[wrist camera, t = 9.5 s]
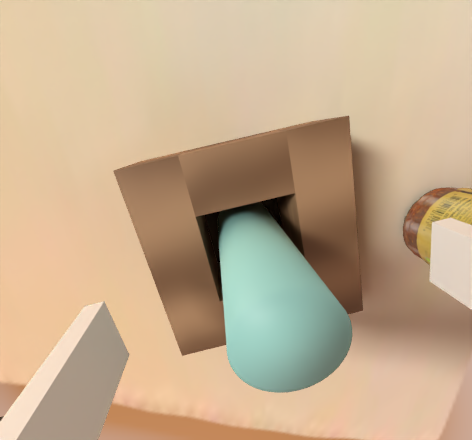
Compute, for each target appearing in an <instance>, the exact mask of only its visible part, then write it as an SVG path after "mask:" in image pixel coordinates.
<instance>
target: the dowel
mask: <svg viewBox="0 0 472 440" xmlns="http://www.w3.org/2000/svg"><path fill="white" fill-rule="evenodd" d="M217 227H218V240H219V253H220V266H221V279H222V292H223V305H224V319H225V332H226V345H227V355H228V360H229V363H230V365H231V367H232V369H233V371H234V372H235V373H236V374H237V376H238V377H239V378H240V379H242V380H243V381H244V382H245V383H247V384H249V385H250V386H252V387H255V388H257V389H260V390H264V391H268V392H292V391H297V390H301V389H304V388H307V387H310V386H312V385H314V384H316V383H318V382H320V381H322V380H323V379H325V378H326V377H328V376H329V375H330V374H331V373H333V372H334V371H335V370H336V369H337V368H338V366H339V365H340V364H341V363H342V361H343V360H344V358H345V357H346V355H347V353H348V351H349V348H350V345H351V340H352V325H351V321H350V318H349V316H348V314H347V312H346V310H345V309H344V308H343V307H342V305H341V304H340V303H339V301H338V300H337V299H336V298H335V296H334V295H333V294H332V292H331V291H330V290H329V289H328V287H327V286H326V285H325V283H324V282H323V281H322V280H321V278H320V277H319V276H318V274H317V273H316V272H315V271H314V269H313V268H312V267H311V265H310V264H309V263H308V262H307V260H306V259H305V258H304V256H303V255H302V254H301V253H300V251H299V250H298V249H297V247H296V246H295V245H294V244H293V242H292V241H291V240H290V238H289V237H288V236H287V235H286V233H285V232H284V231H283V229H282V228H281V227H280V226H279V224H278V223H277V222H276V220H275V219H274V218H273V217H272V215H271V214H270V213H269V211H268V210H267V209H266V208H265V206H264V205H263V204H262V203H261V202H256V203H251V204H247V205H243V206H239V207H235V208H231V209H226V210H222V211H220V213H219V216H218V221H217Z"/></svg>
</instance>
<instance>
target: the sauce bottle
mask: <svg viewBox="0 0 472 440" xmlns="http://www.w3.org/2000/svg"><path fill="white" fill-rule="evenodd" d="M447 218H453V219H456V220H459V221H461V222H464V223H467V224H470V225H472V189H469V188H439V189H434V190H432V191H430V192H428V193H426V194H425V195H424V196H423V197H421V198H420V199H419V200H418V201H417V202H415V203H414V204H413V206H412V207H411V209H410V210H409V212H408V214H407V216H406V217H405V220H404V226H403V236H404V241H405V243H406V245H407V247H408V248H409V249H410V250H411V251H412V252H413V253H414V254H415V255H417V256H418V257H420V258H422V259H423V260H424V261H425V262H426V263H428V264H429V265H430V258H431V234H432V222H435V221H439V220H443V219H447Z"/></svg>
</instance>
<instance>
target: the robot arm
mask: <svg viewBox="0 0 472 440" xmlns="http://www.w3.org/2000/svg"><path fill="white" fill-rule="evenodd" d="M430 282H431V283H433V284H434V285H436V286H437V287H439V288H440V289H442V290H443V291H445V292H446V293H448V294H449V295H451V296H452V297H453V298H455V299H456V300H458V301H459V302H461V303H462V304H464V305H465V306H467V307H468V308H470V309H471V310H472V225H470V224H467V223H464V222H461V221H459V220H456V219H453V218H447V219H443V220H439V221H435V222H432V234H431V258H430ZM128 357H129V353H128V351H127V349H126V347H125V345H124V342H123V340H122V338H121V336H120V334H119V332H118V330H117V328H116V325H115V323H114V321H113V319H112V317H111V315H110V313H109V310H108V308H107V306H106V304H105V302H104V301H103V302H99V303H95V304H91V305H87V306H84V308H83V309H82V310H81V312H80V313H79V314H78V316H77V317H76V319H75V320H74V321H73V323H72V324H71V325H70V327H69V328H68V330H67V331H66V332H65V334H64V335H63V336H62V338H61V339H60V340H59V342H58V343H57V345H56V346H55V347H54V349H53V350H52V351H51V353H50V354H49V356H48V357H47V358H46V360H45V361H44V362H43V364H42V365H41V366H40V368H39V369H38V371H37V372H36V373H35V375H34V376H33V377H32V379H31V380H30V382H29V383H28V384H27V386H26V387H25V388H24V390H23V391H22V392H21V394H20V395H19V397H18V398H17V399H16V401H15V402H14V403H13V405H12V406H11V408H10V409H9V410H8V412H7V413H6V415H5V416H3V417H0V440H98V438H99V436H100V433H101V430H102V428H103V425H104V422H105V419H106V417H107V414H108V411H109V409H110V406H111V403H112V400H113V398H114V395H115V392H116V390H117V387H118V384H119V381H120V379H121V376H122V373H123V371H124V368H125V365H126V362H127V360H128Z"/></svg>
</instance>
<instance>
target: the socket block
mask: <svg viewBox="0 0 472 440" xmlns="http://www.w3.org/2000/svg"><path fill="white" fill-rule="evenodd" d="M114 174H115V176H116V179H117V182H118V185H119V187H120V190H121V193H122V195H123V198H124V201H125V203H126V206H127V209H128V211H129V214H130V217H131V219H132V222H133V225H134V228H135V230H136V233H137V236H138V238H139V241H140V244H141V246H142V249H143V252H144V254H145V257H146V260H147V262H148V265H149V268H150V270H151V273H152V276H153V279H154V281H155V284H156V287H157V289H158V292H159V295H160V297H161V300H162V303H163V305H164V308H165V311H166V313H167V316H168V319H169V322H170V324H171V327H172V330H173V332H174V335H175V338H176V340H177V343H178V346H179V348H180V351H181V354H182V356H183V355H187V354H191V353H195V352H199V351H203V350H207V349H211V348H215V347H219V346H223V345H226V332H225V319H224V305H223V292H222V279H221V266H220V263H217V259H216V255H215V252H214V248H213V244H212V241H211V237H210V233H209V230H208V226H207V222H206V219H205V214H210V213H214V212H218V211H222V210H226V209H231V208H235V207H239V206H243V205H247V204H251V203H256V202H260V201H264V200H268V199H272V198H277V200H278V206H279V212H280V218H281V224H282V229H283V231H284V232H285V233H286V235H287V236H288V237H289V238H290V240H291V241H292V242H293V244H294V245H295V246H296V247H297V249H298V250H299V251H300V253H301V254H302V255H303V256H304V258H305V259H306V260H307V262H308V263H309V264H310V265H311V267H312V268H313V269H314V271H315V272H316V273H317V274H318V276H319V277H320V278H321V280H322V281H323V282H324V283H325V285H326V286H327V287H328V289H329V290H330V291H331V292H332V294H333V295H334V296H335V298H336V299H337V300H338V301H339V303H340V304H341V305H342V307H343V308H344V309H345V310H346V312H347V314H351V313H355V312H359V311H363V305H362V291H361V277H360V263H359V249H358V235H357V221H356V207H355V193H354V179H353V165H352V151H351V137H350V123H349V116H345V117H338V118H332V119H325V120H319V121H312V122H308V123H303V124H299V125H295V126H290V127H286V128H282V129H278V130H273V131H269V132H265V133H260V134H256V135H252V136H248V137H243V138H239V139H235V140H230V141H226V142H222V143H218V144H213V145H209V146H205V147H200V148H196V149H192V150H188V151H183V152H179V153H175V154H170V155H166V156H162V157H158V158H153V159H149V160H145V161H140V162H137V163H135V164H132V165H129V166H126V167H123V168H120V169H117V170H114Z"/></svg>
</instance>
